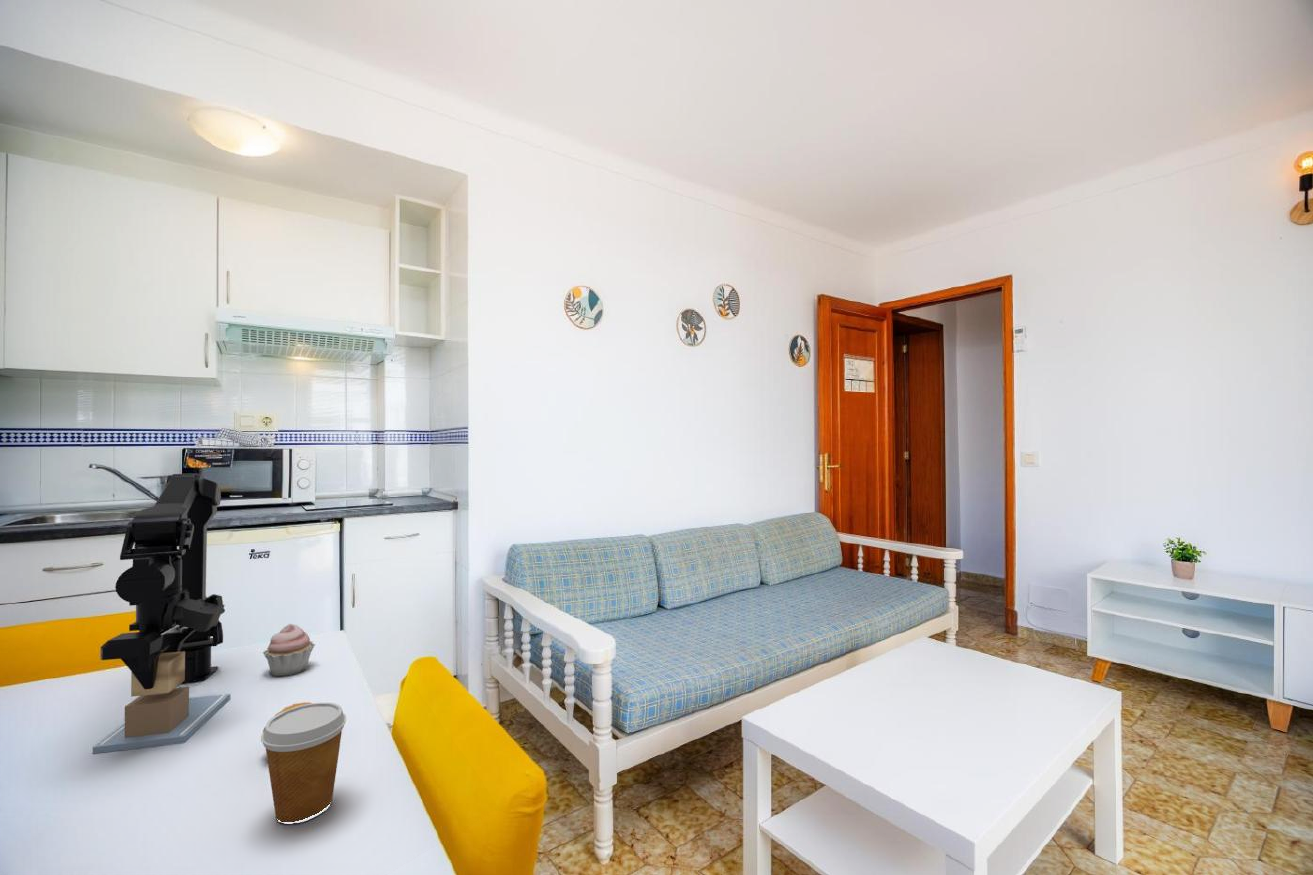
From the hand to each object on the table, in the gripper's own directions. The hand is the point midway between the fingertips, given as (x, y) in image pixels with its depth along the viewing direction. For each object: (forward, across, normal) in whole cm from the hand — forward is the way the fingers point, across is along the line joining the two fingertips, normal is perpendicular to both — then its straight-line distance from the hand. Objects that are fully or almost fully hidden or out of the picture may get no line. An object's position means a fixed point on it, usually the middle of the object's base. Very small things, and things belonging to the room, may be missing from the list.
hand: (158, 681), depth 94 cm
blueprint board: (+8, +3, 0) cm, 9 cm away
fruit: (+8, -13, -24) cm, 29 cm away
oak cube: (+1, 0, 0) cm, 1 cm away
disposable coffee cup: (+8, -29, -30) cm, 43 cm away
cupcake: (+9, +23, -12) cm, 27 cm away
